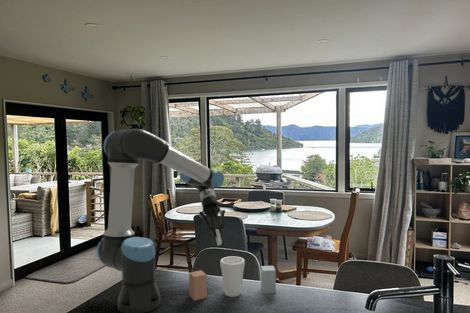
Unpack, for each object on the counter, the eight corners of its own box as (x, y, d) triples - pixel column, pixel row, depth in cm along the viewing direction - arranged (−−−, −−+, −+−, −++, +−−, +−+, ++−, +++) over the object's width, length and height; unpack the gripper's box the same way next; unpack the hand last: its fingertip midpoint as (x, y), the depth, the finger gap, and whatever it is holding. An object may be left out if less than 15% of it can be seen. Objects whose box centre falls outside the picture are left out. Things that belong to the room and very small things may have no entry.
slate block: (263, 293, 128) (263, 270, 127) (260, 288, 132) (260, 266, 132) (275, 292, 128) (275, 270, 128) (273, 287, 133) (272, 265, 133)
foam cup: (234, 300, 122) (234, 266, 121) (215, 294, 127) (215, 261, 127) (249, 291, 129) (249, 259, 129) (230, 286, 135) (230, 254, 134)
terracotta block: (194, 300, 122) (194, 277, 122) (189, 295, 126) (189, 272, 126) (206, 297, 124) (206, 274, 124) (201, 292, 129) (200, 270, 128)
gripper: (197, 196, 154) (206, 241, 139) (223, 194, 158) (235, 237, 143) (194, 205, 159) (203, 249, 144) (220, 203, 163) (231, 246, 148)
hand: (219, 243), depth 143 cm, fingers closed
